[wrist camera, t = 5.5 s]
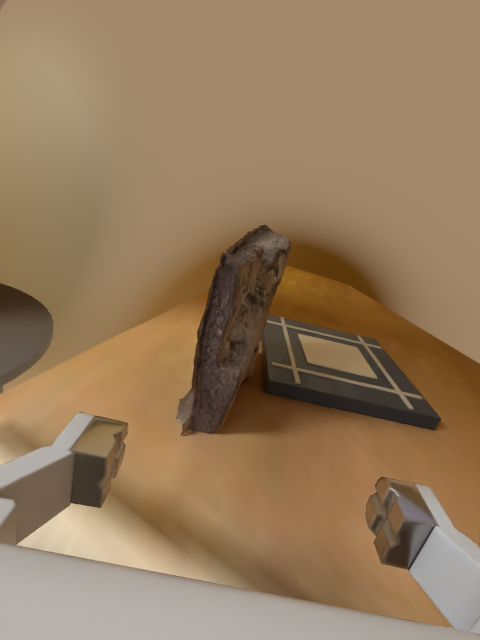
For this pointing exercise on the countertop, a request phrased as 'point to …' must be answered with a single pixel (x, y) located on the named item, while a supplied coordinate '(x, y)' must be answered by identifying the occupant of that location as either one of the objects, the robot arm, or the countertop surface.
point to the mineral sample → (233, 326)
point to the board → (339, 373)
